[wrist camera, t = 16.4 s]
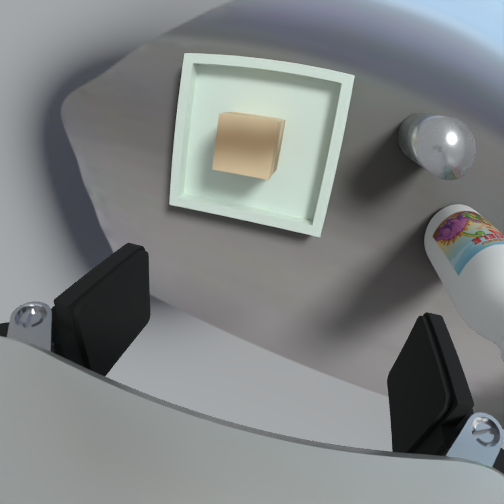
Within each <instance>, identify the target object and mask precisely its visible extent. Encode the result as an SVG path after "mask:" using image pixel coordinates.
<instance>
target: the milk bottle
mask: <svg viewBox="0 0 504 504" xmlns="http://www.w3.org/2000/svg"><path fill="white" fill-rule="evenodd" d="M424 246H425V251H426V253H427V256H428V258H429V260H430V261H431V263H432V265H433V267H434V269H435V270H436V272H437V274H438V276H439V278H440V279H441V281H442V283H443V285H444V287H445V289H446V290H447V292H448V294H449V296H450V298H451V300H452V302H453V303H454V305H455V307H456V309H457V310H458V312H459V314H460V316H461V317H462V318H463V320H464V321H465V322H466V324H467V325H468V326H469V327H470V328H471V329H472V330H474V331H475V332H476V333H477V334H479V335H481V336H483V337H484V338H486V339H488V340H490V341H492V342H493V343H495V344H496V345H497V346H498V347H499V348H500V349H501V358H502V360H503V361H504V236H503V235H502V234H501V233H500V232H499V231H498V230H497V229H496V228H495V227H494V226H492V225H491V224H490V223H489V222H488V221H487V220H486V219H484V218H483V217H482V216H481V215H480V214H479V213H477V212H476V211H475V210H473V209H472V208H470V207H468V206H466V205H461V204H455V205H450V206H447V207H445V208H443V209H441V210H440V211H439V212H437V213H436V214H435V215H434V217H433V218H432V219H431V221H430V222H429V224H428V226H427V229H426V232H425V237H424Z"/></svg>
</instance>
